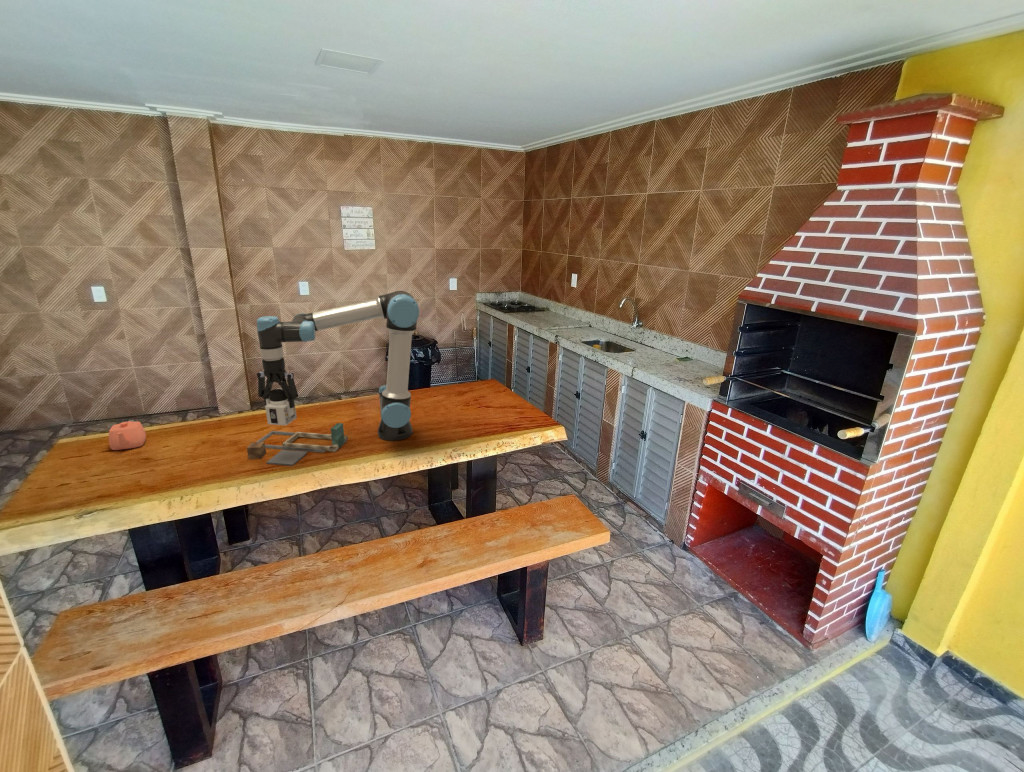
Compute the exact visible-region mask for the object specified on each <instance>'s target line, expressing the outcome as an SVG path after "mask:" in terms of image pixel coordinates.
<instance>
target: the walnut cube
mask: <svg viewBox="0 0 1024 772" xmlns="http://www.w3.org/2000/svg"><path fill="white" fill-rule="evenodd" d="M265 444H266V443H265V441H263V442H256V441H252V442H251V443H250V444H249V445H247V447H246V453H247V458H248V460H251V459H252V460H254V459H255V460H259V459H261V460H262V459H263V457H264V456H265V455H266V454H267V451H266V449H267V448H265Z"/></svg>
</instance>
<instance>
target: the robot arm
mask: <svg viewBox="0 0 1024 772" xmlns="http://www.w3.org/2000/svg"><path fill="white" fill-rule="evenodd" d="M419 317H420V307H419V304H418V302H417V300H416V299H415V298H414V296H413V295H412V294H411V293H409V292H407V291H404V290H396V291H392V292H390V293H389V292H388V293H386V294H382V295H378V296H377V297H376V298H375V299H370V300H366V301H361V302H356V303H352V304H346V305H342V306H337V307H332V308H327V309H323V310H317V311H314V312H309V313H308V312H307V313H304V312H301V313H298V314H296V315H295V316H293V318H292V320H291V321H280V320H279V317H278V316H275V315H267V316H261V317H258V318H257V319H256V329H257V330H256V332H257V336H258V342H259V350H260V356H261V359H262V360H261V364H262V369H263V371H262V370H260V371H259V372H257V373H256V377H257V380H258V381H257V383H258V384H257V386H258V389H257V391H258V392H257V396H258V397H259V398H262V399H263V401H264V407H265V406H266V405H268V404H269V403H271V402H270V397H269V392H270V391H271V390H273V389H272V387H273V386H274V385H273V384H274V383H276V384H278V385H279V386H280V388H282V390H283V391H284V393H285V395H286V397H287V399H288V400H287V401H286V404H287V410H288V416H289V417H291V416H292V415H293V414H294V410H293V407H294V406H295V407H296V404H295V405H294V402H295V400H296V399H298V398H299V393H298V389H297V385H296V381H295V379H294V377H295V374H294V373H293V372H290V373H289V372H287V371H286V364H285V358H284V350H283V349H284V348H283V343H294V342H295V343H296V342H297V343H300V342H301V343H302V342H304V343H307V342H313V341H315V340H316V332H319V331H325V330H328V329H332V328H336V327H337V328H338V327H342V326H346V325H352V324H355V323H362V322H365V321H370V320H375V319H379V318H381V319H383V320H386V324H385V325H386V326H385V328H386V329H387V330H388V331H389V340H388V354H387V356H388V357H387V372H386V384H383V385H381V386H379V388H378V396H379V397H378V399H379V409H380V411H379V412H380V421H379V425H378V427H377V428H378V429H377V436H378V438H380V439H382V440H384V441H391V442H392V441H393V442H394V441H401V440H404V439H405V440H406V439H407V438H409V437H411V436H412V435H413V433H414V431H413V426H412V424H411V416H412V411H411V398H412V394H411V392H410V391H409V379H410V378H409V375H410V365H411V353H412V352H411V351H412V340H413V339H412V338H413V334H414V332H416V331H417V325H418V319H419Z"/></svg>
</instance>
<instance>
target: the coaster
mask: <svg viewBox="0 0 1024 772" xmlns="http://www.w3.org/2000/svg"><path fill="white" fill-rule="evenodd" d="M307 454H308V451H296V450H284V449H280V451H279V452H278V453H276V454H275V455H274V456H272V457H271V458H270V459H268V461H267V460H266V464H267V465H268V464H269V465H279V466H290V467H291V466H294V465H295V464H297V463H298V462H299V461H300V460H301V459H303V458H304V457H305V456H306V455H307Z"/></svg>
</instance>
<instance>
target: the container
mask: <svg viewBox="0 0 1024 772" xmlns="http://www.w3.org/2000/svg"><path fill="white" fill-rule="evenodd" d="M269 397H270V402H271V403H269V404H268V405H266V406H265V405H264V408H265V413H266V420H267V421H266V422H267V425H272V426H273V425H274V426H275V425H276V426H287V425H289V424H290V423H292V422H293V421H294V420H296V419H298V418H297V417H298V416H297V410H296V402H295V401H294V405H295V406H294V407H293V410H294V414H293V415H292V416H291V417H289V416H288V410H287V404H286V401H287V400H288V399H287V397H286V395H285V393H284V391H283V390H282V388H281V387H280V388H279V387H278V388H273V389H271V391H270V392H269Z"/></svg>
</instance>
